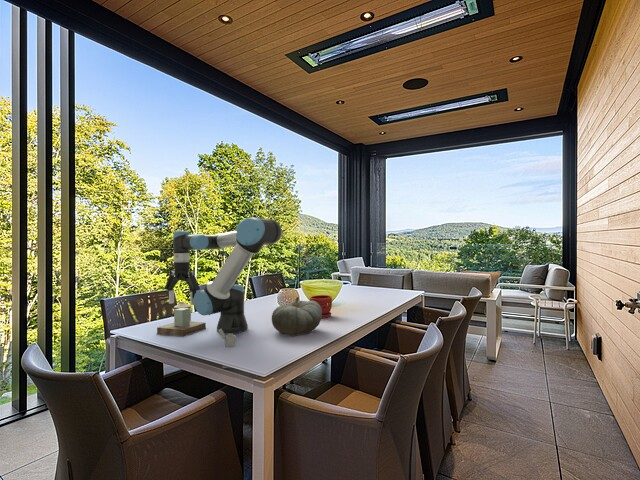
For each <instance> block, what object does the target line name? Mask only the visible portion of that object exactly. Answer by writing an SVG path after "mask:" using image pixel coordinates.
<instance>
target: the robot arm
mask: <svg viewBox="0 0 640 480" xmlns="http://www.w3.org/2000/svg"><path fill="white" fill-rule="evenodd" d="M282 234H283V230H282V227H281V225H280V223H279V222H278V221H277V220H274V219H271V218H259V217H254V216H253V217H246V218H243V219H242V220H241V221H239V223H238V224H237V226H236V229H235V230H234V231H228V232H223V233H218V234H202V233H195V234H190V231H188V230H175V231H174V232H173V236H172V237H173V238H172V241H173V242H172V243H173V244H172V245H173V262H174V263H173V270H171V271H169V275H168V278H167V281H166V283H165V286H164V290H167V296H168V304H169V305H170V304H171V305H172V304H175V290H174V288H175V287H176V285H177V284H178V283H179V281H184V282H185V283H186V285H187V286H188V288H189V289H190V292H189V293H190V296H189V298H190V302H189V303H190V304H189V305H191V306H193V305H194V308H195V311H196V312H197V313H198V314H199V315H201V316H211V315H214V314H218V313H220V314H219V315H220V316H219V320H218V323H217V325H216V332H217V333H219V331H218V330H219V329H220V328H221V329H222V330H223V332H224V334H231V333H232V334H239V333H242V332H247V330H248V328H249V327H248V326H249V324H248V321H247V318H246V315H245V288H244V286H243V285H242V284H235V283H236V281H237V280H238V278H239V276H240V275H241V274H242V272H243V270H244V269H245V268H246V266H247V265H248V263H249V261H250V260H251V259H252V257H253V256H254V254H255V255H256V254H258V253H260V251H261V250H262V249H263V247H264V245H265V246H266V245H267V246H268V245H270V246H271V245H274V244H276V243H278V242H279V241H280V239H281V237H282ZM231 247H233V248H232V251H231V252H230V254H229V255H228V257H227V258H226V260H225V261H224V263H223V265H222V266H221V268H220V269H219V271H218V272H217V274H216V276H215V278H214V279H213V281H211V280H210V281H208V282H207V284H206V285H205V287H204V289H201V290H200V285H199V283H198V280H197V278H196V275H195V271H193V270H192V271H190V269H191V267H190V266H191V265H190V259H191V258H190V253H191V252H190V251H194V250H195V251H199V250H200V251H202V250H223V249H225V248H226V249H227V248H231Z"/></svg>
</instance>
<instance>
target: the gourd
mask: <svg viewBox="0 0 640 480" xmlns="http://www.w3.org/2000/svg"><path fill="white" fill-rule="evenodd" d="M322 319H323V318H322V309H321V307H320V305H319V304H318V303H317V302H316V301H310V300H299V297H297V296H296V298H295V300H294V301H293V302H291V303H289V304H282V305H279V306H277V307H276V308H275V309H274V310H273V312H272V313H271V324H272V326H273V328H274V329H275V330H276V331H277V332H278V333H280V334H282V335H288V336H291V337H295V336H298V335H302V334H304V335H305V334H308V333H311V332H313V331H314V330H315V329H316V328H317V327H318V326H319V325H320V323H321V320H322Z"/></svg>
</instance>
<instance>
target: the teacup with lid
mask: <svg viewBox="0 0 640 480" xmlns="http://www.w3.org/2000/svg"><path fill="white" fill-rule="evenodd" d="M179 308H190V321H192V313H191V312H192V311H191V310H192V305H190V304H189V303H186V302H185V301H184V300H183V301H180V303H178V304H177V305H174V307H173V310H175V309H179Z"/></svg>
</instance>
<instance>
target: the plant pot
mask: <svg viewBox="0 0 640 480" xmlns="http://www.w3.org/2000/svg"><path fill="white" fill-rule="evenodd" d="M309 301H316V302H317V303H318V304H319V305H320V307H321V309H322V318H321V319H326V318H329V317H331V315H332V312H331V310H332V306H333V305H332V304H333V297H332V296H331V295H329V294H326V295H325V294H321V295H312V296H310V297H309Z"/></svg>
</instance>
